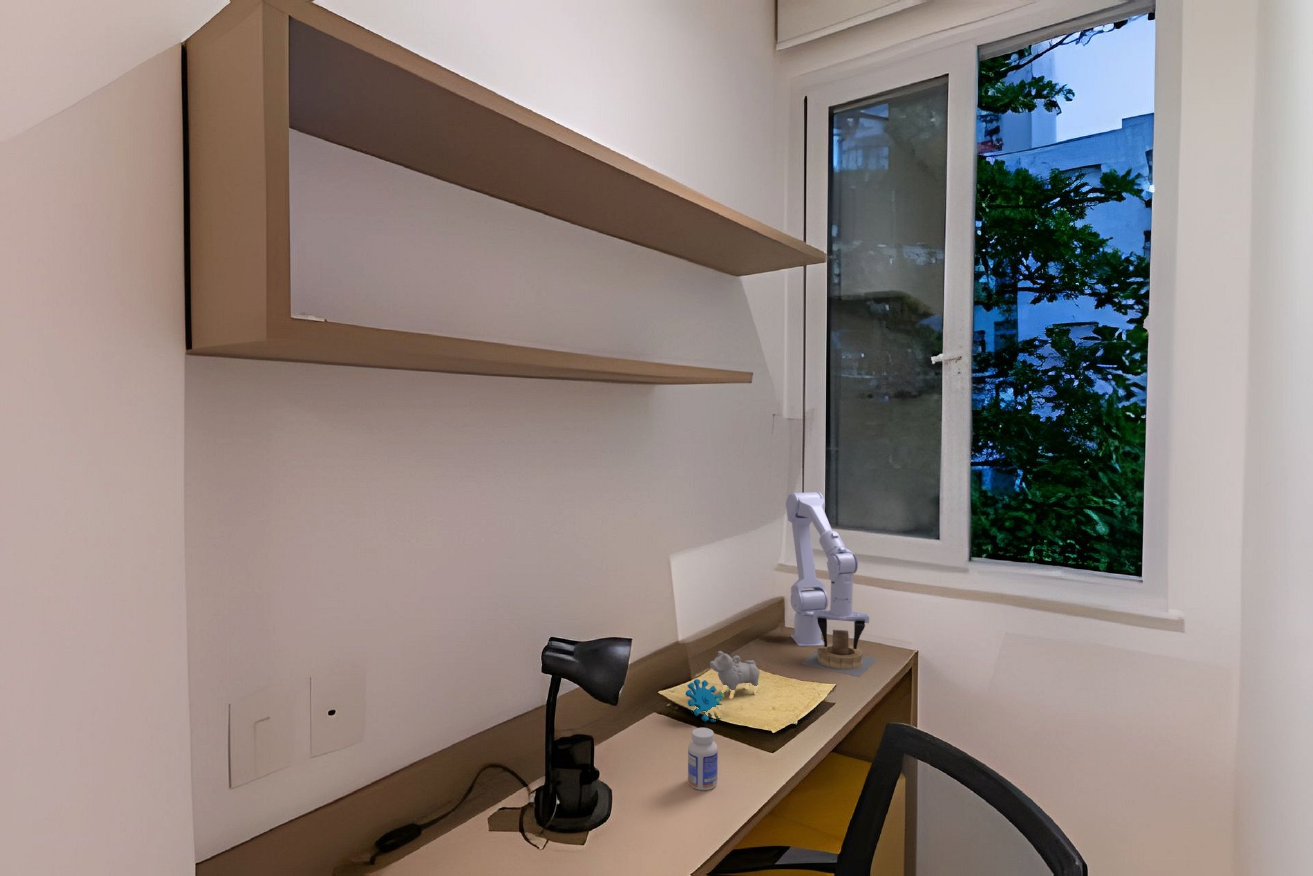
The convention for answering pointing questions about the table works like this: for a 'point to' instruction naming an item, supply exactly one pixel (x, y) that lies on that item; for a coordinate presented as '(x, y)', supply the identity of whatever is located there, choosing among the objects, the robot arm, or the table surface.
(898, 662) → the table surface
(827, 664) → the tan stone ring
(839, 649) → the walnut peg
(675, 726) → the table surface
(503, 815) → the table surface
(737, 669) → the grey dog figurine
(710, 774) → the pill bottle
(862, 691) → the table surface
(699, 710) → the blue knobby piece
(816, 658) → the craft mat
